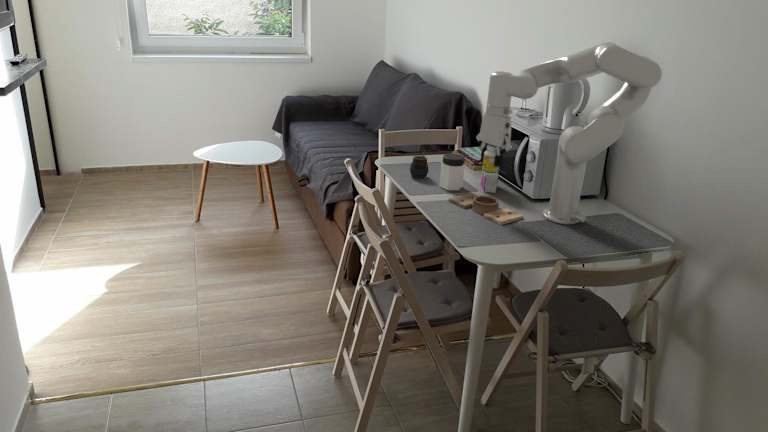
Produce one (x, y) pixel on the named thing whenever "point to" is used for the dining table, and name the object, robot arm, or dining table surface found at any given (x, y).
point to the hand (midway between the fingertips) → (491, 163)
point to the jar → (452, 172)
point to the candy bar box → (489, 182)
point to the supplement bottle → (490, 160)
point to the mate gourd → (419, 167)
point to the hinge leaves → (486, 208)
